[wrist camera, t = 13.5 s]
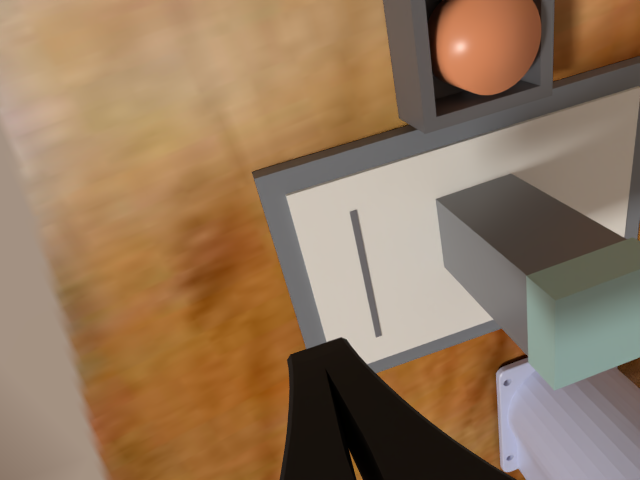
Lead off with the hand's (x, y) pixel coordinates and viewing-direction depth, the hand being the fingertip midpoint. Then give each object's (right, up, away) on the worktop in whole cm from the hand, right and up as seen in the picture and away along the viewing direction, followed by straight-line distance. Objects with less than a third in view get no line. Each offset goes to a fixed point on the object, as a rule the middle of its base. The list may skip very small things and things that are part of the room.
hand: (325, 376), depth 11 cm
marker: (+7, +4, +11) cm, 13 cm away
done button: (+5, +11, +7) cm, 14 cm away
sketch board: (+7, +4, +12) cm, 14 cm away
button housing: (+5, +11, +8) cm, 14 cm away
